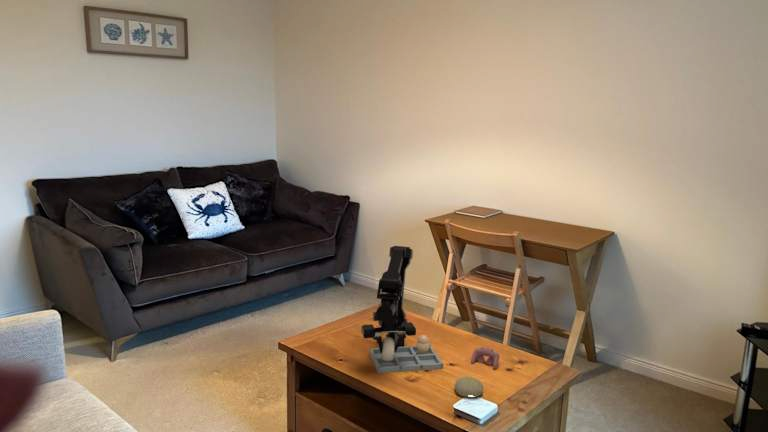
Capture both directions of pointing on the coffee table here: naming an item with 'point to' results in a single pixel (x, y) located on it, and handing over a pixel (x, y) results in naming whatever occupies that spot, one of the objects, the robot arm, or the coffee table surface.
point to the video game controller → (485, 352)
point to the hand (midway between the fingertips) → (387, 352)
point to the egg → (388, 349)
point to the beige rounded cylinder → (422, 345)
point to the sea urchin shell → (468, 386)
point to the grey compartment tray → (406, 360)
